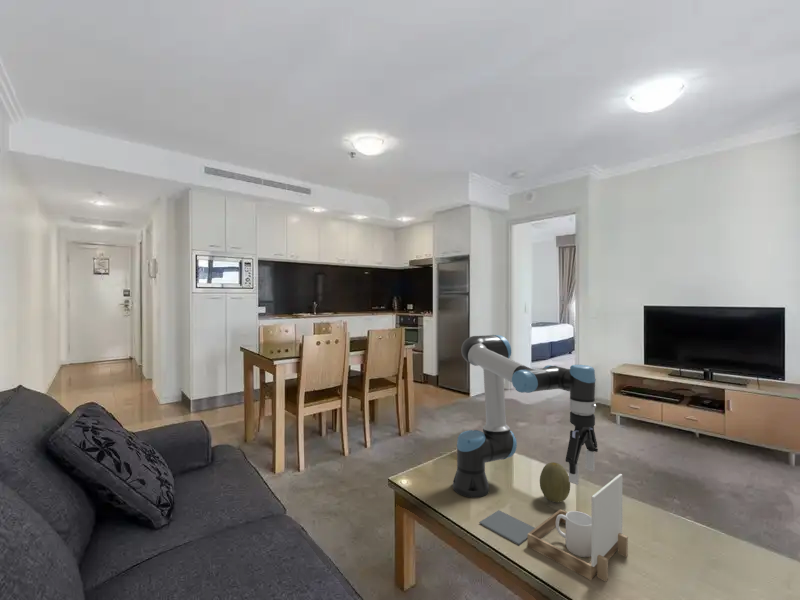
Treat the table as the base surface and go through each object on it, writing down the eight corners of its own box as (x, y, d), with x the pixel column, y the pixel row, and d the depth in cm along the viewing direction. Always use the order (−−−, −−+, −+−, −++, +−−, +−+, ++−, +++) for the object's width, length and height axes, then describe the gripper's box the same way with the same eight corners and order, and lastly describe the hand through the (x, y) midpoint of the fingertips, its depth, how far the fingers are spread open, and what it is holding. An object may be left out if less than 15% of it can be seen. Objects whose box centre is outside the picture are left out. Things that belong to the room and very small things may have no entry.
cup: (587, 561, 117) (588, 528, 117) (550, 543, 126) (550, 512, 126) (598, 549, 123) (598, 518, 123) (561, 533, 132) (561, 503, 132)
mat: (479, 523, 137) (479, 522, 137) (498, 511, 145) (498, 510, 145) (519, 545, 125) (519, 543, 125) (537, 530, 133) (537, 529, 133)
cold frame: (527, 546, 124) (527, 534, 124) (560, 520, 139) (560, 509, 139) (590, 580, 109) (590, 566, 109) (620, 546, 124) (620, 534, 124)
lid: (591, 579, 110) (591, 496, 110) (619, 547, 124) (620, 473, 124) (602, 585, 107) (603, 500, 107) (630, 552, 122) (630, 476, 122)
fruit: (555, 491, 160) (555, 455, 160) (576, 504, 150) (576, 466, 150) (533, 496, 156) (533, 459, 156) (553, 510, 146) (553, 471, 146)
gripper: (578, 423, 115) (578, 493, 115) (607, 407, 132) (607, 468, 132) (554, 417, 121) (554, 484, 121) (585, 403, 138) (585, 462, 138)
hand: (582, 476), depth 127 cm, fingers open, 13 cm apart
